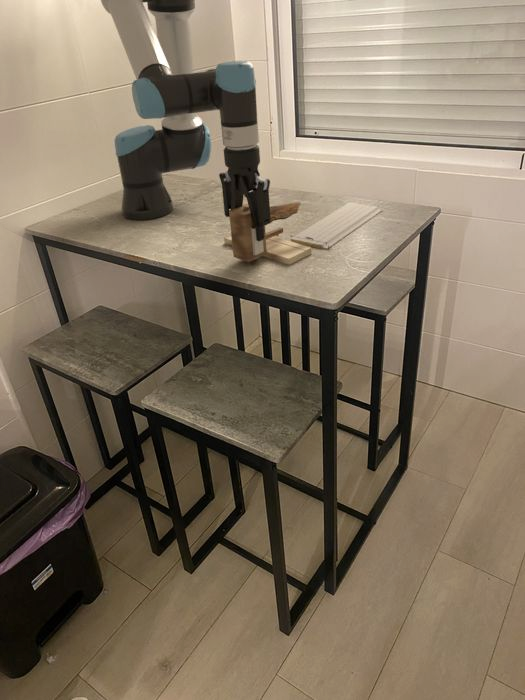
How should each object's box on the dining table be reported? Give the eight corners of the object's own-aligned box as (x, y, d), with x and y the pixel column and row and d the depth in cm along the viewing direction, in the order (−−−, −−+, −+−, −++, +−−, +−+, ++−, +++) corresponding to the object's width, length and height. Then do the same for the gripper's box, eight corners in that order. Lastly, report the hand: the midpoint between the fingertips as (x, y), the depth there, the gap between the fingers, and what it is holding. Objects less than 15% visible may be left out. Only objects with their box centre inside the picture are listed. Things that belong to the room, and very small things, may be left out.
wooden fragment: (248, 233, 141) (248, 229, 140) (223, 224, 148) (222, 220, 148) (316, 208, 155) (316, 204, 154) (289, 200, 162) (289, 197, 161)
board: (224, 243, 135) (224, 237, 134) (247, 233, 140) (246, 228, 139) (289, 264, 122) (288, 258, 121) (311, 253, 127) (311, 247, 126)
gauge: (233, 256, 124) (228, 208, 118) (274, 238, 132) (271, 191, 126) (248, 262, 121) (244, 212, 115) (289, 242, 129) (287, 195, 123)
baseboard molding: (387, 213, 148) (349, 207, 154) (388, 203, 146) (349, 197, 153) (332, 253, 128) (290, 244, 134) (332, 241, 126) (290, 233, 132)
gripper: (199, 144, 114) (212, 246, 127) (259, 155, 103) (266, 265, 116) (225, 137, 119) (235, 236, 131) (285, 146, 108) (289, 254, 120)
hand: (249, 250), depth 124 cm, fingers closed on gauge, 5 cm apart
